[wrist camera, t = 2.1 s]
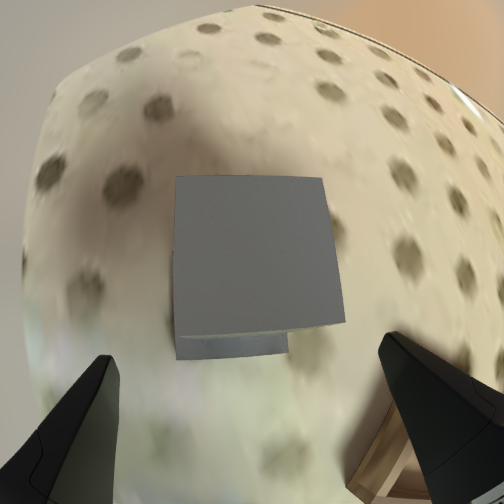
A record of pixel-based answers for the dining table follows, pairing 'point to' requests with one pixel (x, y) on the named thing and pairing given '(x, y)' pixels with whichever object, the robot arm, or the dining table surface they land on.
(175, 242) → the bracket post
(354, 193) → the dining table surface
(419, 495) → the well
